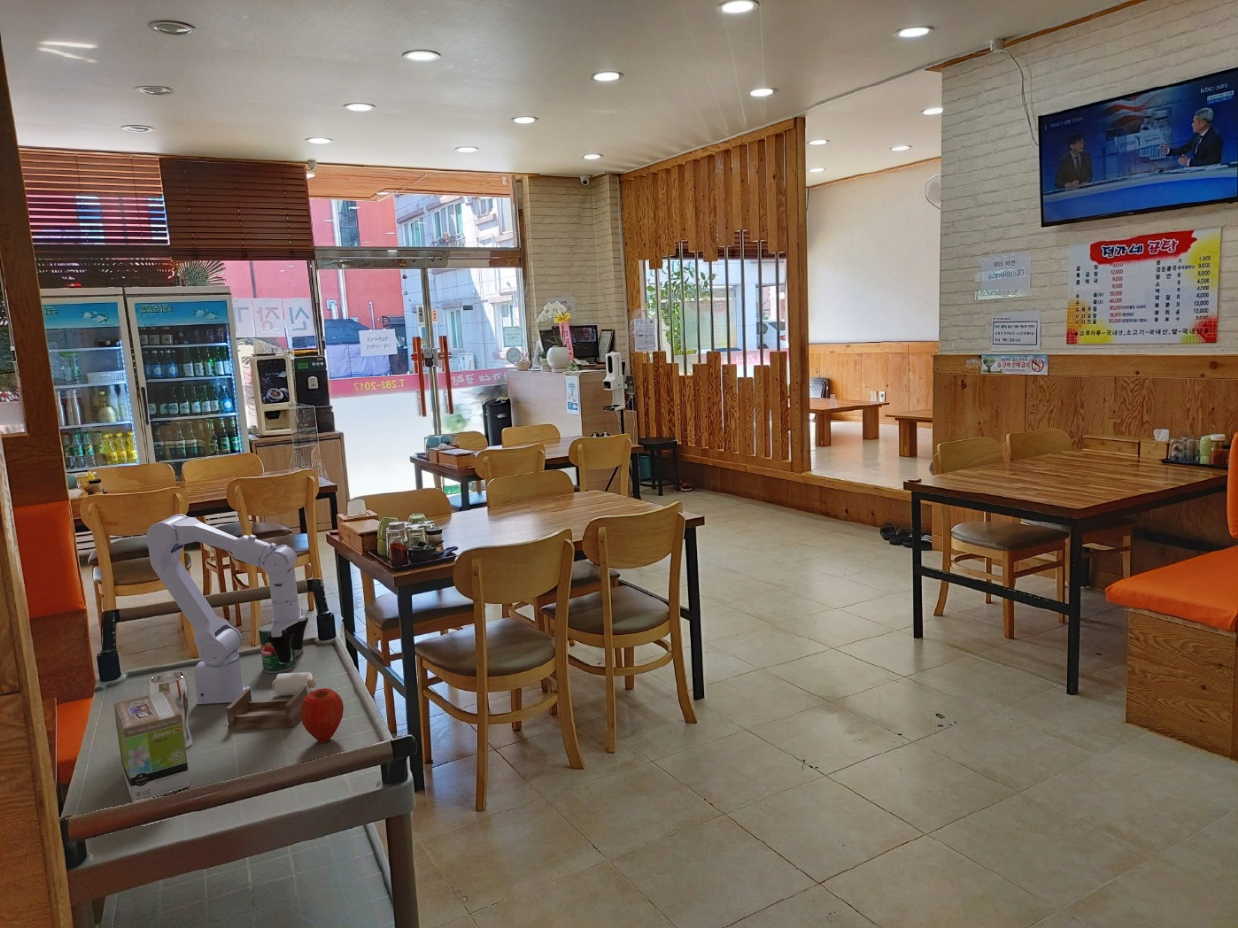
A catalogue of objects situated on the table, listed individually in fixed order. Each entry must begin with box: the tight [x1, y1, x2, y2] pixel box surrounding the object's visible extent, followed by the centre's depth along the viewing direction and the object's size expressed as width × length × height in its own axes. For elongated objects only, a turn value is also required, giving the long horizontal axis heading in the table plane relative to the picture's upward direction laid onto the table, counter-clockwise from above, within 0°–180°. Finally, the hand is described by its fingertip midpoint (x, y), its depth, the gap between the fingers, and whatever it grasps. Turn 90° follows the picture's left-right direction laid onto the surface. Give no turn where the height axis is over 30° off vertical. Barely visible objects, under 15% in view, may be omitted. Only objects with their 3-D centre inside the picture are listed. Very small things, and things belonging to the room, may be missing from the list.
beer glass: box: [148, 670, 194, 749], centre depth 180 cm, size 7×7×15 cm
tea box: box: [113, 690, 191, 802], centre depth 166 cm, size 15×10×15 cm
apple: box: [300, 687, 344, 743], centre depth 179 cm, size 9×8×11 cm
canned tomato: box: [258, 620, 297, 674], centre depth 221 cm, size 8×8×11 cm
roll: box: [271, 671, 317, 697], centre depth 204 cm, size 9×5×5 cm, turn 90°
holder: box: [226, 686, 308, 731], centre depth 192 cm, size 14×10×5 cm
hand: (291, 655), depth 203 cm, fingers open, 7 cm apart
